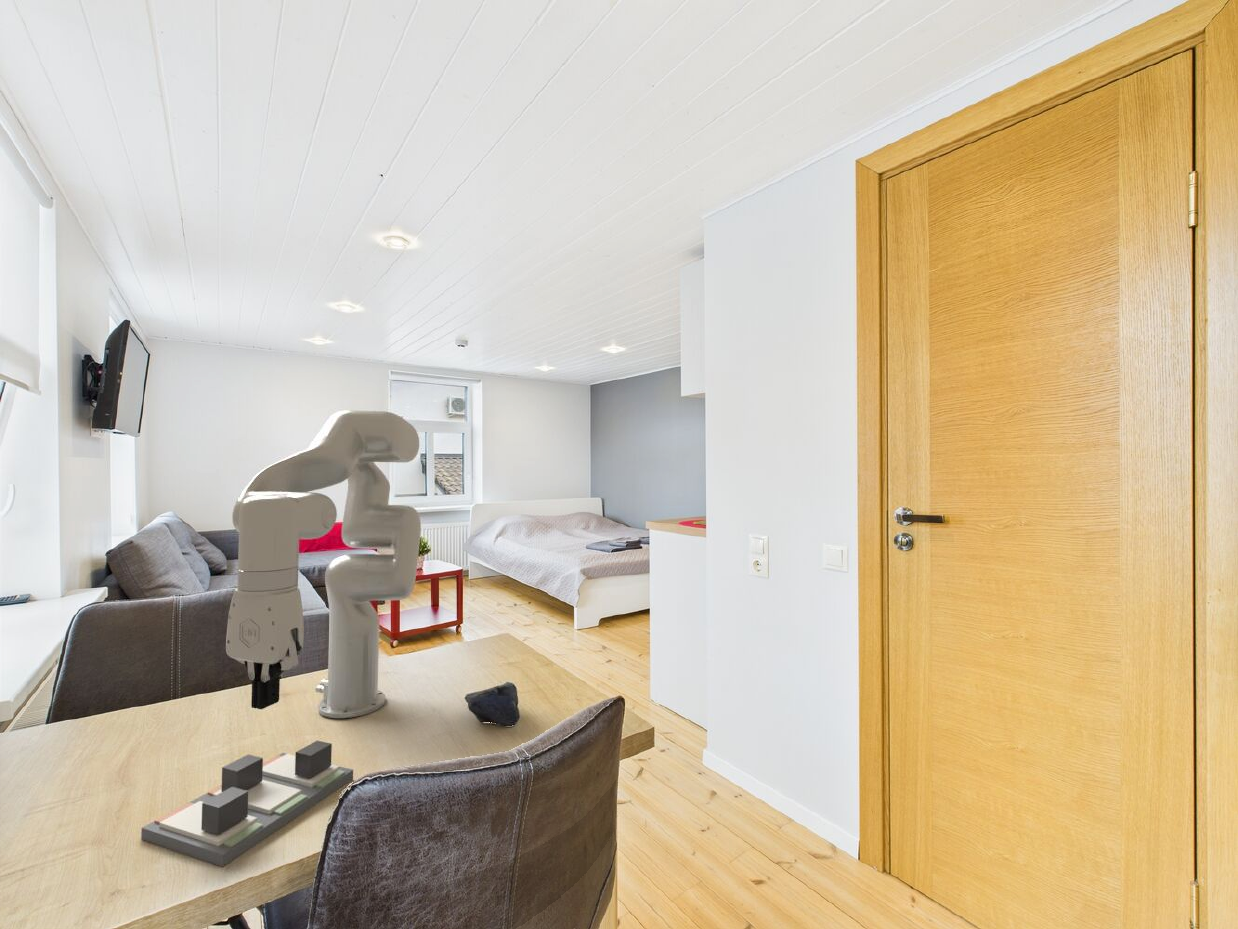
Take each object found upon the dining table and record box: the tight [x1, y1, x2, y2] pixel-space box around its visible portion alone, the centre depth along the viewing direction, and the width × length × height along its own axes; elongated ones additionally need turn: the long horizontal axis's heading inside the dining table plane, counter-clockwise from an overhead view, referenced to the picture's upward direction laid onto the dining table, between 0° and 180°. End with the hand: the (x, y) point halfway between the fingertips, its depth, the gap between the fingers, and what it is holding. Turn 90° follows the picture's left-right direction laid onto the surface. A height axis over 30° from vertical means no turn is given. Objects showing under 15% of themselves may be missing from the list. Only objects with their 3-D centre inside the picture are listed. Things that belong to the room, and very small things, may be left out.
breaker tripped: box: [221, 754, 264, 792], centre depth 82 cm, size 3×4×4 cm
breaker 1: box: [201, 787, 248, 835], centre depth 74 cm, size 3×4×4 cm
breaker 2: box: [294, 740, 333, 779], centre depth 87 cm, size 3×4×4 cm
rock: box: [463, 681, 521, 727], centre depth 112 cm, size 16×8×10 cm
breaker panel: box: [140, 752, 354, 868], centre depth 81 cm, size 15×21×2 cm
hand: (265, 704), depth 81 cm, fingers closed
